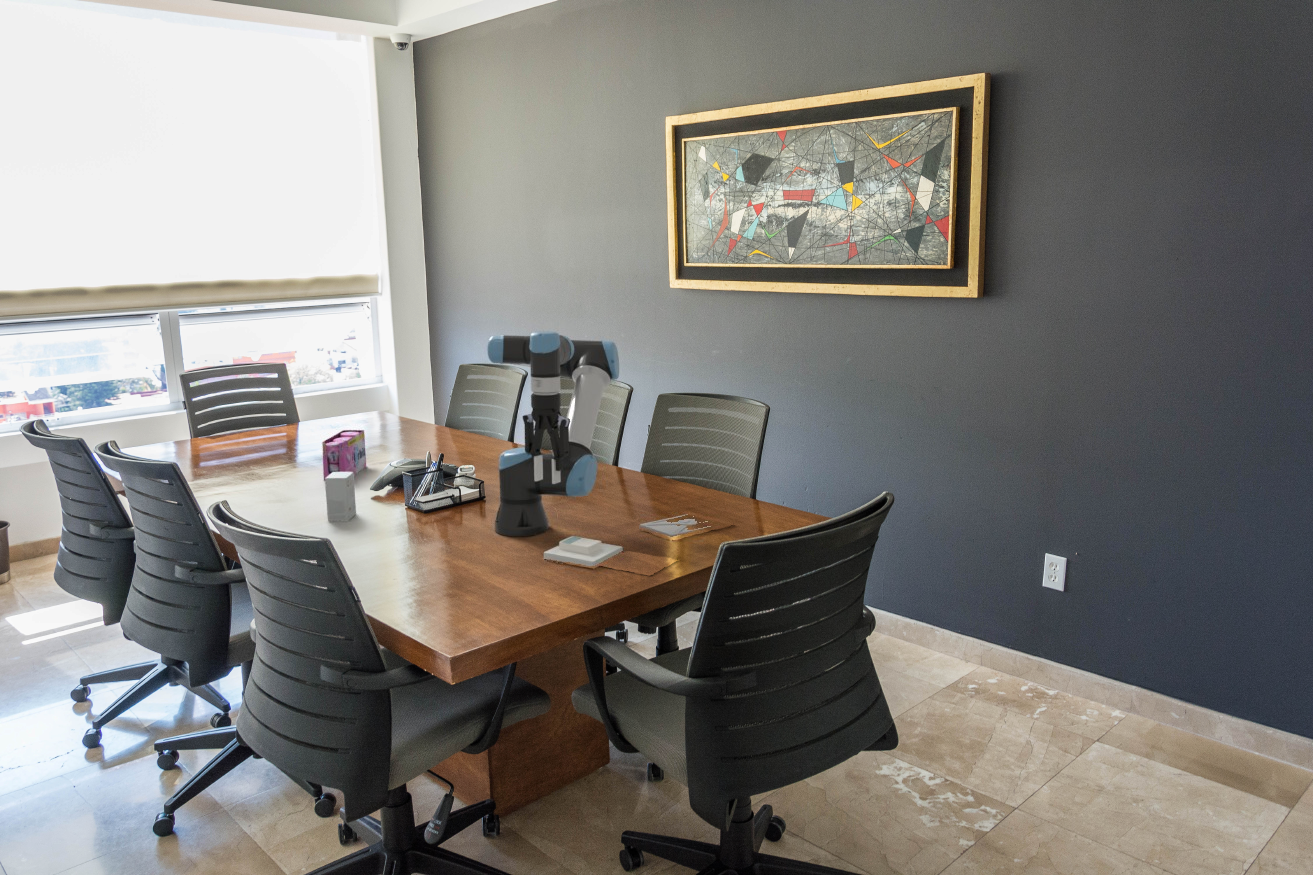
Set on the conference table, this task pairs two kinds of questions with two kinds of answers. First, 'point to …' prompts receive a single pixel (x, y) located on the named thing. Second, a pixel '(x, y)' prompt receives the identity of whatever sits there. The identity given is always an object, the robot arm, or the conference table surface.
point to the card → (580, 545)
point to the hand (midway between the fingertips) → (547, 481)
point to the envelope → (671, 526)
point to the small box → (340, 496)
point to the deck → (583, 555)
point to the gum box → (344, 452)
